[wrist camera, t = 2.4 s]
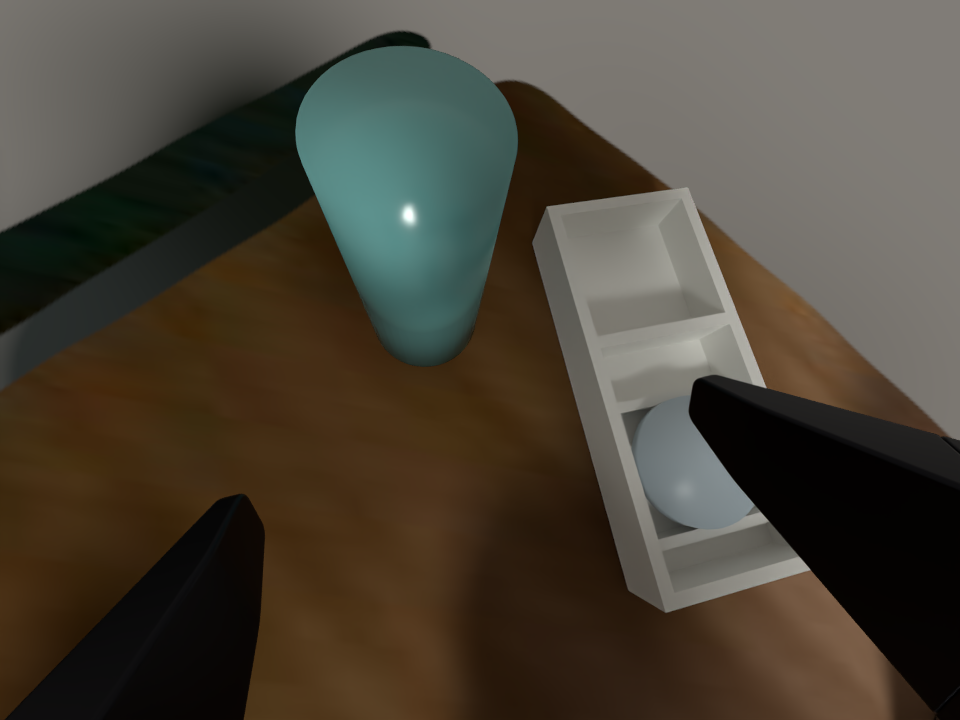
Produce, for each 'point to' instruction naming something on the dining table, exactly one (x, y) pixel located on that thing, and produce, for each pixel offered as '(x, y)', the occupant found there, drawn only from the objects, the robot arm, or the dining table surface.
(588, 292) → the rack
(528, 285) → the dining table surface
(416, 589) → the dining table surface
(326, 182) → the teal rounded block
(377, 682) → the dining table surface
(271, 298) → the dining table surface
